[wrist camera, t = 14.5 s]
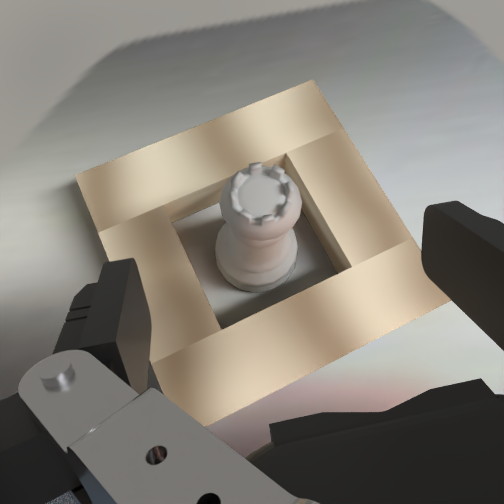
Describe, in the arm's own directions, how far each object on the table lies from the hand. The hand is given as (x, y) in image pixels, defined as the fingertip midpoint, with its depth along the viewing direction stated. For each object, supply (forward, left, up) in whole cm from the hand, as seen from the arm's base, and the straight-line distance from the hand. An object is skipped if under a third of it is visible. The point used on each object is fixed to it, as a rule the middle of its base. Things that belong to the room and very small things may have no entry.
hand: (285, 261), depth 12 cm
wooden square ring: (+1, +4, -11) cm, 12 cm away
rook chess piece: (+1, +4, -12) cm, 12 cm away
